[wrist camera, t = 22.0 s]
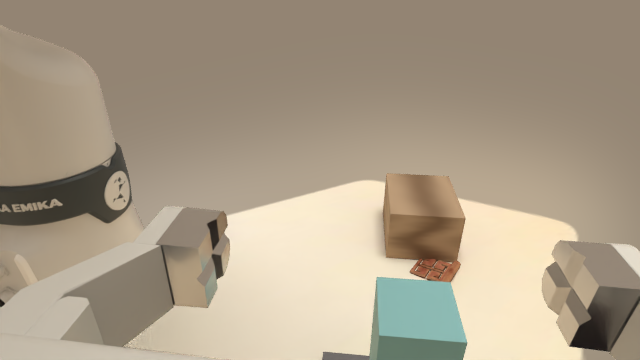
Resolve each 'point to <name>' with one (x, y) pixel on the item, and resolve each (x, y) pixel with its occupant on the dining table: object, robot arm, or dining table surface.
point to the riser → (422, 218)
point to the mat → (343, 356)
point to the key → (436, 269)
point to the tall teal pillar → (416, 321)
